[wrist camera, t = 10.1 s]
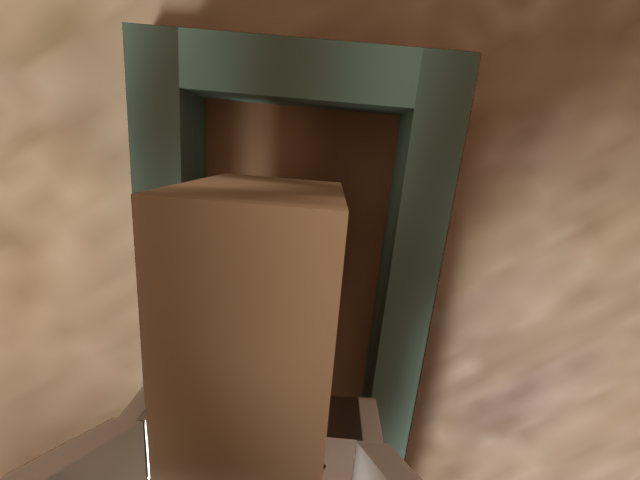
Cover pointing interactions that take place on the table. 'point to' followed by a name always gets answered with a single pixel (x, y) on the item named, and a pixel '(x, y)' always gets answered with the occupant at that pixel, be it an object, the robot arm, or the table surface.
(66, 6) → the table surface
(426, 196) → the board
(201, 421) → the block
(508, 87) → the table surface
